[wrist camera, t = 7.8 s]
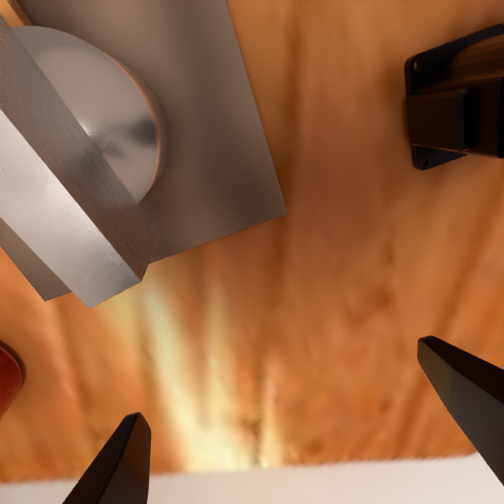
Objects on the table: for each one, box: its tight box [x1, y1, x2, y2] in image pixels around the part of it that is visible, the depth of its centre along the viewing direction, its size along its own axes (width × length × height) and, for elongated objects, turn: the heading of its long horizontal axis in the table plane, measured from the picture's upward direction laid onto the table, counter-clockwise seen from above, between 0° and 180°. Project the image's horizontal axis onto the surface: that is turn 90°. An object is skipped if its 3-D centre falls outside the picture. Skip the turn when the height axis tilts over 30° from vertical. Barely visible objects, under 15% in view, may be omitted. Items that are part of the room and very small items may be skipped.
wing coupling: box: [0, 0, 170, 309], centre depth 11 cm, size 12×7×8 cm, turn 27°
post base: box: [0, 0, 288, 301], centre depth 16 cm, size 16×15×2 cm
